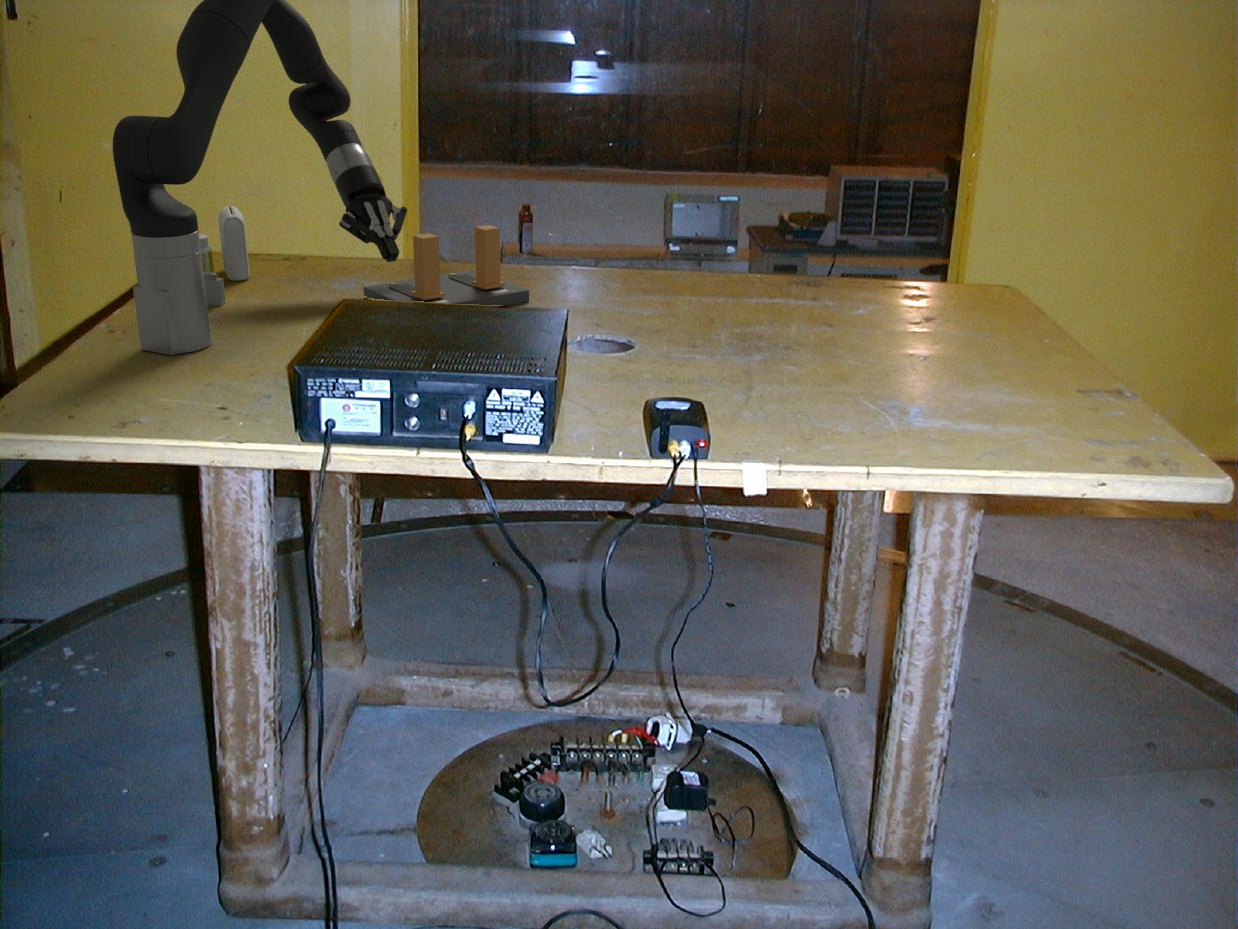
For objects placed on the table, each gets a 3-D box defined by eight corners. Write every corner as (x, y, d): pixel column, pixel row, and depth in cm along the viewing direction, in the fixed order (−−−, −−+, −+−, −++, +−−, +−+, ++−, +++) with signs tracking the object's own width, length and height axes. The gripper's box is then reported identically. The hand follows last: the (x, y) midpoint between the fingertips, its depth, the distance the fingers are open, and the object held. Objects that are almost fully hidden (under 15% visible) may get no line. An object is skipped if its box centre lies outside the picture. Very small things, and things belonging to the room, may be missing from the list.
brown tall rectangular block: (485, 289, 207) (483, 230, 203) (472, 284, 210) (470, 226, 206) (504, 286, 209) (503, 228, 206) (491, 281, 212) (490, 224, 208)
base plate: (417, 321, 197) (417, 308, 196) (364, 298, 210) (363, 285, 209) (529, 301, 210) (529, 288, 209) (472, 280, 223) (471, 268, 222)
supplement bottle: (204, 278, 220) (199, 232, 217) (220, 282, 218) (215, 236, 215) (181, 283, 217) (176, 236, 214) (198, 287, 214) (192, 240, 211)
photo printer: (222, 269, 227) (215, 202, 223) (246, 267, 229) (239, 201, 224) (226, 282, 218) (219, 213, 214) (251, 280, 220) (244, 211, 215)
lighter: (226, 303, 205) (221, 256, 202) (221, 305, 204) (216, 258, 201) (186, 300, 206) (180, 254, 203) (181, 303, 205) (175, 256, 202)
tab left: (423, 300, 200) (421, 239, 196) (411, 294, 203) (408, 235, 199) (444, 296, 202) (442, 236, 198) (432, 291, 205) (429, 232, 201)
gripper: (325, 166, 206) (365, 251, 202) (395, 159, 214) (434, 241, 210) (314, 193, 212) (352, 276, 208) (382, 185, 220) (419, 266, 216)
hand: (393, 258), depth 209 cm, fingers closed
